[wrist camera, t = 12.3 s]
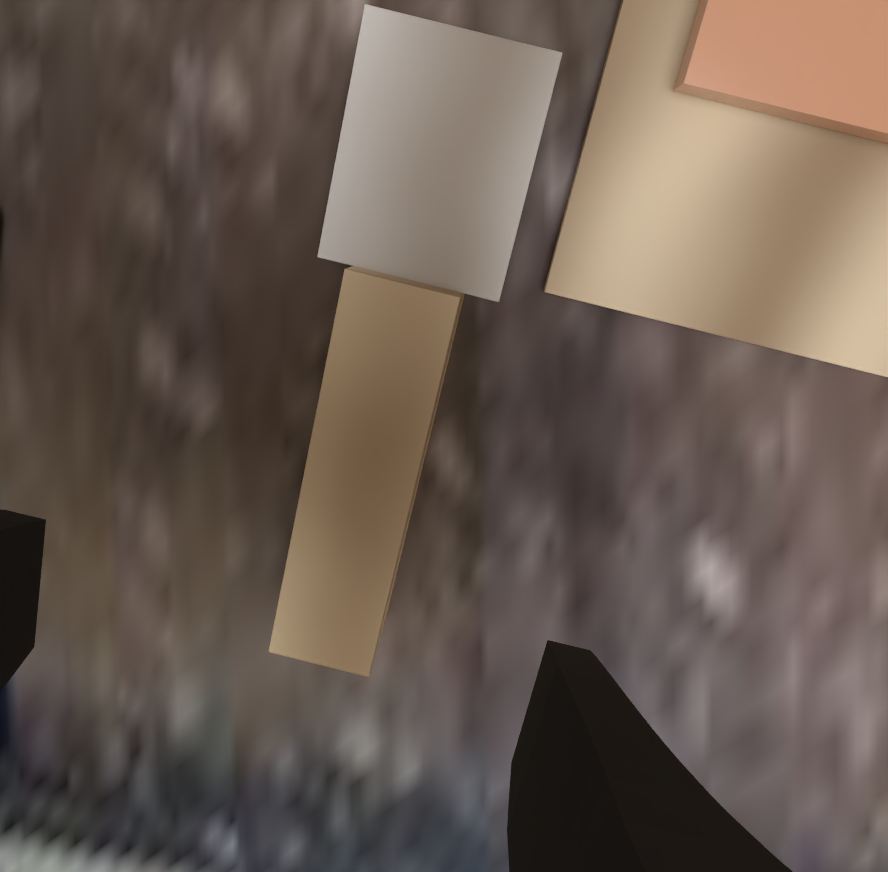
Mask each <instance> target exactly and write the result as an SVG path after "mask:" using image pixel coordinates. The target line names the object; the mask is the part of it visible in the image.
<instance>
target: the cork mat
mask: <svg viewBox="0 0 888 872" xmlns="http://www.w3.org/2000/svg"><path fill="white" fill-rule="evenodd" d="M699 2H700V0H622V1H621V5H620V8H619V12H618V16H617V19H616V23H615V27H614V31H613V34H612V38H611V42H610V45H609V49H608V53H607V57H606V60H605V64H604V68H603V71H602V75H601V79H600V82H599V86H598V90H597V94H596V97H595V101H594V105H593V108H592V112H591V116H590V120H589V123H588V127H587V131H586V134H585V138H584V142H583V146H582V149H581V153H580V157H579V160H578V164H577V168H576V171H575V175H574V179H573V183H572V186H571V190H570V194H569V197H568V201H567V205H566V209H565V212H564V216H563V220H562V223H561V227H560V231H559V235H558V238H557V242H556V246H555V249H554V253H553V257H552V261H551V264H550V268H549V272H548V275H547V279H546V283H545V286H544V292H546V293H550V294H554V295H558V296H562V297H566V298H571V299H575V300H579V301H583V302H587V303H591V304H595V305H599V306H603V307H607V308H611V309H615V310H619V311H623V312H627V313H631V314H635V315H639V316H643V317H647V318H651V319H655V320H659V321H663V322H667V323H671V324H675V325H679V326H683V327H687V328H691V329H696V330H700V331H704V332H708V333H712V334H716V335H720V336H724V337H728V338H732V339H736V340H740V341H744V342H748V343H752V344H756V345H760V346H764V347H768V348H772V349H776V350H780V351H784V352H788V353H792V354H796V355H800V356H804V357H808V358H812V359H817V360H821V361H825V362H829V363H833V364H837V365H841V366H845V367H849V368H853V369H857V370H861V371H865V372H869V373H873V374H877V375H881V376H885V377H888V143H883V142H879V141H875V140H871V139H867V138H863V137H859V136H855V135H851V134H847V133H843V132H839V131H835V130H831V129H827V128H823V127H819V126H815V125H810V124H806V123H802V122H798V121H794V120H790V119H786V118H782V117H778V116H774V115H770V114H766V113H762V112H758V111H754V110H750V109H746V108H741V107H737V106H733V105H729V104H725V103H721V102H717V101H713V100H709V99H705V98H701V97H697V96H693V95H689V94H685V93H681V92H677V91H674V87H675V84H676V80H677V77H678V74H679V70H680V67H681V63H682V60H683V57H684V53H685V50H686V46H687V43H688V40H689V36H690V33H691V29H692V26H693V23H694V19H695V16H696V12H697V9H698V6H699Z"/></svg>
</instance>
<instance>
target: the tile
mask: <svg viewBox="0 0 888 872" xmlns="http://www.w3.org/2000/svg"><path fill="white" fill-rule="evenodd" d="M674 91H677V92H681V93H685V94H689V95H693V96H697V97H701V98H705V99H709V100H713V101H717V102H721V103H725V104H729V105H733V106H737V107H741V108H746V109H750V110H754V111H758V112H762V113H766V114H770V115H774V116H778V117H782V118H786V119H790V120H794V121H798V122H802V123H806V124H810V125H815V126H819V127H823V128H827V129H831V130H835V131H839V132H843V133H847V134H851V135H855V136H859V137H863V138H867V139H871V140H875V141H879V142H883V143H888V0H700V2H699V6H698V9H697V12H696V16H695V19H694V23H693V26H692V29H691V33H690V36H689V40H688V43H687V46H686V50H685V53H684V57H683V60H682V63H681V67H680V70H679V74H678V77H677V80H676V84H675V87H674Z"/></svg>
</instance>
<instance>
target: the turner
mask: <svg viewBox="0 0 888 872" xmlns="http://www.w3.org/2000/svg"><path fill="white" fill-rule="evenodd" d="M561 56H562V53H561V52H557V51H553V50H549V49H545V48H541V47H537V46H533V45H529V44H525V43H521V42H517V41H512V40H508V39H504V38H500V37H496V36H492V35H488V34H484V33H480V32H476V31H472V30H468V29H464V28H460V27H456V26H451V25H447V24H443V23H439V22H435V21H431V20H427V19H423V18H419V17H415V16H411V15H407V14H403V13H399V12H395V11H390V10H386V9H382V8H378V7H374V6H370V5H366V4H365V7H364V12H363V17H362V23H361V28H360V33H359V39H358V44H357V49H356V55H355V60H354V65H353V71H352V76H351V81H350V86H349V92H348V97H347V102H346V108H345V113H344V118H343V124H342V129H341V134H340V140H339V145H338V150H337V155H336V161H335V166H334V171H333V177H332V182H331V187H330V193H329V198H328V203H327V209H326V214H325V219H324V224H323V230H322V235H321V240H320V246H319V251H318V256H317V257H319V258H324V259H328V260H332V261H336V262H340V263H344V264H348V265H352V267H349V268H346V269H345V270H344V275H343V280H342V285H341V290H340V295H339V300H338V305H337V310H336V315H335V320H334V325H333V330H332V335H331V340H330V345H329V350H328V355H327V360H326V365H325V370H324V375H323V381H322V386H321V391H320V396H319V401H318V406H317V411H316V416H315V421H314V426H313V431H312V436H311V441H310V446H309V451H308V456H307V461H306V466H305V471H304V476H303V481H302V486H301V491H300V496H299V501H298V506H297V511H296V516H295V522H294V527H293V532H292V537H291V542H290V547H289V552H288V557H287V562H286V567H285V572H284V577H283V582H282V587H281V592H280V597H279V602H278V607H277V612H276V617H275V622H274V627H273V632H272V637H271V642H270V647H269V652H271V653H275V654H279V655H283V656H287V657H291V658H295V659H299V660H303V661H307V662H311V663H315V664H319V665H323V666H327V667H331V668H335V669H339V670H342V671H346V672H350V673H354V674H358V675H362V676H366V677H369V674H370V670H371V667H372V664H373V660H374V657H375V653H376V650H377V647H378V643H379V640H380V636H381V633H382V630H383V626H384V623H385V619H386V616H387V612H388V608H389V604H390V600H391V595H392V591H393V587H394V583H395V579H396V575H397V571H398V567H399V562H400V558H401V554H402V550H403V546H404V542H405V538H406V534H407V529H408V525H409V521H410V517H411V513H412V509H413V505H414V501H415V496H416V492H417V488H418V484H419V480H420V476H421V472H422V468H423V463H424V459H425V455H426V451H427V447H428V443H429V439H430V435H431V430H432V426H433V422H434V418H435V414H436V410H437V406H438V402H439V397H440V393H441V389H442V385H443V381H444V377H445V373H446V369H447V364H448V360H449V356H450V352H451V348H452V344H453V340H454V335H455V331H456V327H457V323H458V319H459V315H460V311H461V307H462V302H463V298H464V294H469V295H473V296H477V297H481V298H485V299H489V300H493V301H497V302H499V299H500V296H501V292H502V288H503V284H504V280H505V276H506V272H507V268H508V264H509V260H510V256H511V252H512V248H513V245H514V241H515V237H516V233H517V229H518V225H519V221H520V217H521V213H522V209H523V205H524V201H525V197H526V194H527V190H528V186H529V182H530V178H531V174H532V170H533V166H534V162H535V158H536V154H537V150H538V147H539V143H540V139H541V135H542V131H543V127H544V123H545V119H546V115H547V111H548V107H549V103H550V99H551V96H552V92H553V88H554V84H555V80H556V76H557V72H558V68H559V64H560V60H561Z"/></svg>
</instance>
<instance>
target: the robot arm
mask: <svg viewBox="0 0 888 872" xmlns="http://www.w3.org/2000/svg"><path fill="white" fill-rule="evenodd" d="M45 524H46V520H45V519H41V518H36V517H32V516H28V515H24V514H20V513H16V512H11V511H7V510H0V691H1V690H2V688H3V687H4V686H5V685H6V683H7V682H8V681H9V680H10V678H11V677H12V676H13V674H14V673H15V672H16V670H17V669H18V668H19V666H20V665H21V664H22V662H23V661H24V660H25V658H26V657H27V656H28V654H29V653H30V652H31V650H32V649H33V648H34V644H35V633H36V622H37V611H38V600H39V589H40V578H41V567H42V557H43V546H44V535H45ZM507 835H508V854H509V872H792V871H791V870H790V869H789V868H788V867H787V866H785V865H784V864H783V863H782V862H781V861H780V860H778V859H777V858H776V857H775V856H774V855H773V854H772V853H770V852H769V851H768V850H767V849H766V848H765V847H764V846H763V845H762V844H761V843H760V842H759V841H758V840H757V839H755V838H754V837H753V836H752V835H751V834H750V833H749V832H748V831H747V830H746V829H745V828H744V827H743V826H742V825H740V824H739V823H738V822H737V821H736V820H735V819H734V818H733V817H732V816H731V815H730V814H729V813H728V812H727V811H726V810H725V809H724V808H723V807H722V806H721V805H720V804H719V803H718V802H717V801H716V800H715V799H714V798H713V797H712V796H711V795H710V794H709V793H708V792H707V791H706V789H705V788H704V787H703V786H702V785H701V784H700V783H699V782H698V781H697V780H696V779H695V777H694V776H693V775H692V774H691V773H690V772H689V771H688V770H687V769H686V768H685V767H684V765H683V764H682V763H681V762H680V761H679V760H678V759H677V758H676V756H675V755H674V754H673V753H672V752H671V751H670V749H669V748H668V747H667V746H666V745H665V744H664V742H663V741H662V740H661V739H660V737H659V736H658V735H657V734H656V733H655V731H654V730H653V729H652V728H651V726H650V725H649V724H648V723H647V721H646V720H645V719H644V718H643V716H642V715H641V714H640V713H639V711H638V710H637V709H636V708H635V706H634V705H633V704H632V702H631V701H630V700H629V699H628V697H627V696H626V695H625V693H624V692H623V691H622V689H621V688H620V687H619V685H618V684H617V683H616V682H615V680H614V679H613V678H612V676H611V675H610V674H609V672H608V671H607V670H606V668H605V667H604V666H603V665H602V663H601V662H600V661H599V660H598V658H597V657H596V656H595V655H594V654H593V653H592V652H591V650H586V649H582V648H578V647H574V646H570V645H566V644H561V643H557V642H553V641H549V640H548V641H547V644H546V647H545V651H544V654H543V658H542V661H541V664H540V668H539V671H538V675H537V678H536V681H535V685H534V688H533V691H532V695H531V698H530V702H529V705H528V708H527V712H526V715H525V719H524V722H523V725H522V729H521V732H520V735H519V739H518V742H517V746H516V749H515V752H514V756H513V759H512V764H511V778H510V791H509V807H508V825H507Z"/></svg>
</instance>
